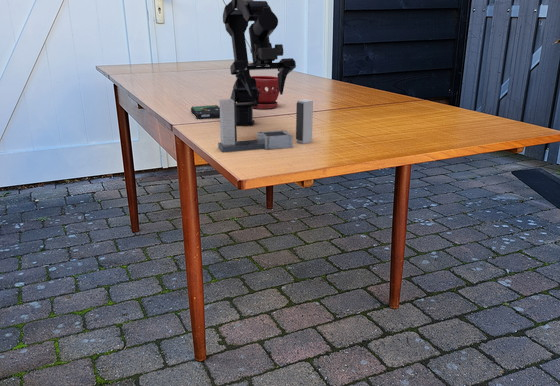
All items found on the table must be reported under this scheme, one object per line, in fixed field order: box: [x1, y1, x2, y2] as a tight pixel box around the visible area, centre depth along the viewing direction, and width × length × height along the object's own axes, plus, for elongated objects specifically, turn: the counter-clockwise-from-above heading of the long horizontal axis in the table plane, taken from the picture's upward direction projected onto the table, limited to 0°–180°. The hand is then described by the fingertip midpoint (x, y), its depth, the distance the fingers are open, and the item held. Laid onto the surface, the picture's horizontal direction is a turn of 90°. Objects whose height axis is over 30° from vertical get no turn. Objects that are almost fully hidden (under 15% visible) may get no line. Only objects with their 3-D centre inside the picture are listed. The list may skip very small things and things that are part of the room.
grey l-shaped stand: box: [217, 98, 294, 153], centre depth 153 cm, size 7×20×14 cm, turn 110°
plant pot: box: [250, 75, 280, 110], centre depth 213 cm, size 13×13×12 cm
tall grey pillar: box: [295, 98, 314, 145], centre depth 159 cm, size 3×4×12 cm
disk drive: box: [190, 104, 220, 120], centre depth 200 cm, size 10×3×15 cm
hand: (266, 95), depth 158 cm, fingers open, 9 cm apart
